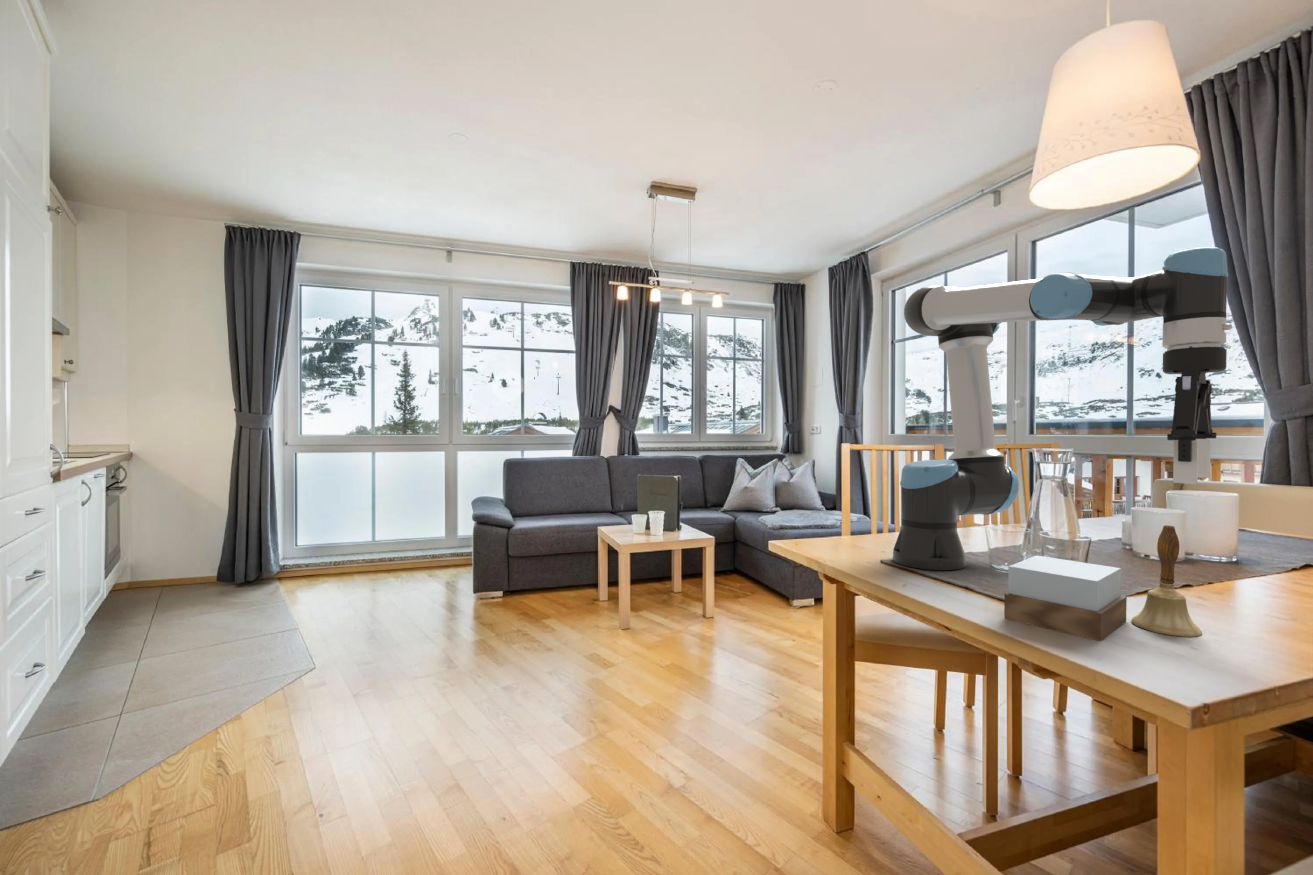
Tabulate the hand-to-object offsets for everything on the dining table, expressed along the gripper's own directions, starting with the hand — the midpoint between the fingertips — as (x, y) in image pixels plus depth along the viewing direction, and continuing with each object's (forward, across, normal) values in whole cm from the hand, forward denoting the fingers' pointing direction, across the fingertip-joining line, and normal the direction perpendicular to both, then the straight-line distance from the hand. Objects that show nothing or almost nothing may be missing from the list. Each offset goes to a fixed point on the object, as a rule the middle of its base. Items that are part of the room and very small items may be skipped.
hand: (1192, 480), depth 94 cm
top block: (+18, -15, +14) cm, 27 cm away
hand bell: (+23, -8, +2) cm, 24 cm away
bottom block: (+23, -15, +13) cm, 31 cm away
